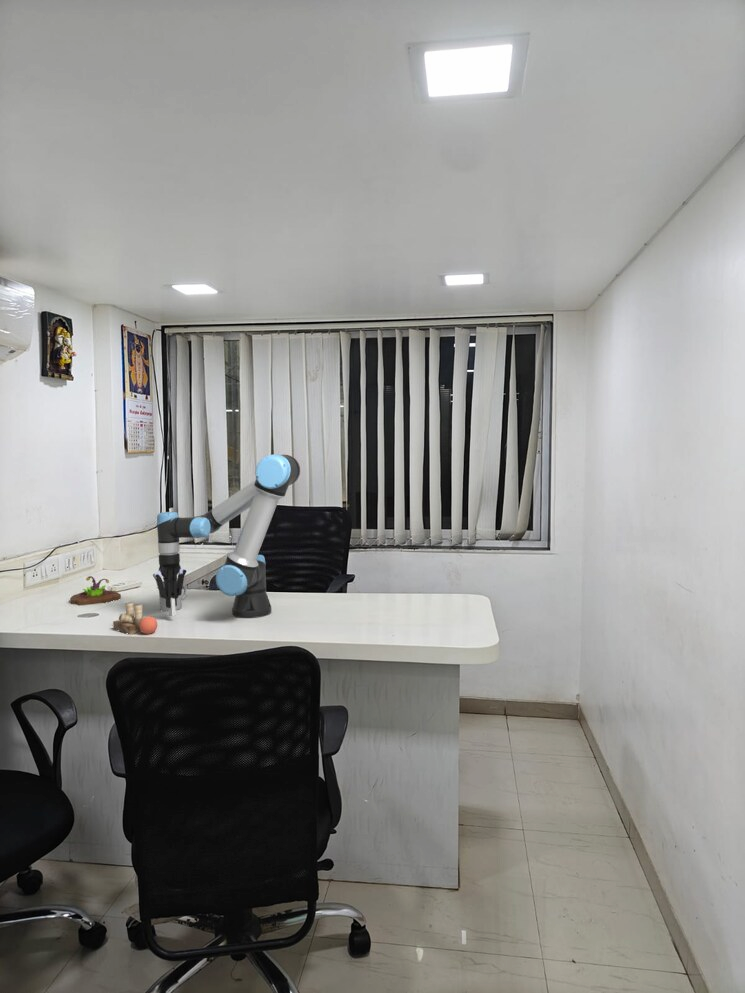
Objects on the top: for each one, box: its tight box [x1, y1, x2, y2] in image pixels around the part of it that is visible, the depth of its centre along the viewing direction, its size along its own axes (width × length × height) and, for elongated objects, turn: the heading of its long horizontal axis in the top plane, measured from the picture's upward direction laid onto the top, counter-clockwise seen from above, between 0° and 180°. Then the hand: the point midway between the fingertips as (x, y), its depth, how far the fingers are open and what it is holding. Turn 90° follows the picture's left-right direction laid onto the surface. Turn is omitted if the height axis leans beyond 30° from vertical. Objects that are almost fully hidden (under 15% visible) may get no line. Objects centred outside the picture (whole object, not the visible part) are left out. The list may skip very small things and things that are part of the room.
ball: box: [139, 615, 158, 635], centre depth 228 cm, size 6×6×6 cm
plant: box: [69, 575, 122, 606], centre depth 287 cm, size 20×20×11 cm
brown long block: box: [112, 619, 137, 635], centre depth 232 cm, size 12×2×3 cm, turn 48°
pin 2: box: [134, 604, 144, 632], centre depth 233 cm, size 3×3×9 cm
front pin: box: [118, 613, 135, 625], centre depth 234 cm, size 3×3×9 cm
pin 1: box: [125, 602, 135, 617], centre depth 237 cm, size 3×3×9 cm
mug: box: [158, 580, 188, 612], centre depth 267 cm, size 12×8×11 cm
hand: (171, 615), depth 246 cm, fingers closed
